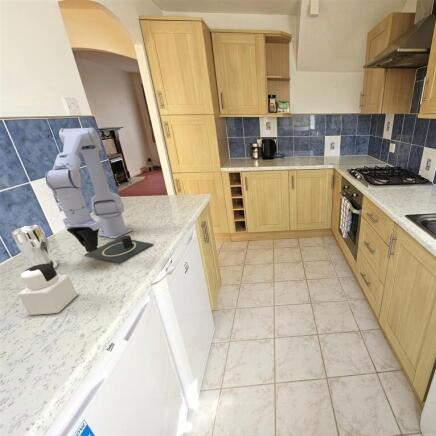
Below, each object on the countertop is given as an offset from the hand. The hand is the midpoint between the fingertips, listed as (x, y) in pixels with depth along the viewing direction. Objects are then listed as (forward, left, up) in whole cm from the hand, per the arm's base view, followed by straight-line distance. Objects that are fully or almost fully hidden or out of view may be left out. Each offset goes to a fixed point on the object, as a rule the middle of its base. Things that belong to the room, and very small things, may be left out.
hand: (90, 246), depth 81 cm
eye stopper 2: (-1, +12, -7) cm, 14 cm away
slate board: (-3, +10, -8) cm, 13 cm away
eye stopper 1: (0, 0, -1) cm, 1 cm away
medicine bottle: (+8, -17, -8) cm, 21 cm away
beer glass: (-16, -7, -8) cm, 19 cm away
